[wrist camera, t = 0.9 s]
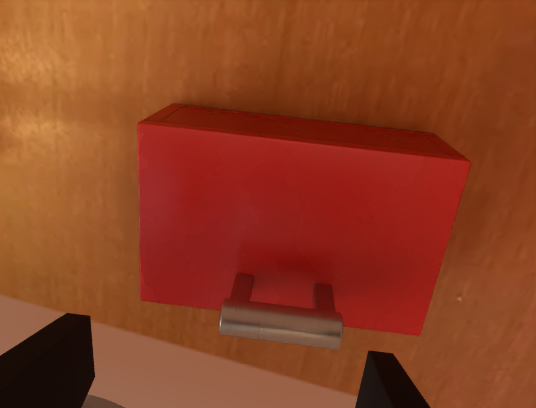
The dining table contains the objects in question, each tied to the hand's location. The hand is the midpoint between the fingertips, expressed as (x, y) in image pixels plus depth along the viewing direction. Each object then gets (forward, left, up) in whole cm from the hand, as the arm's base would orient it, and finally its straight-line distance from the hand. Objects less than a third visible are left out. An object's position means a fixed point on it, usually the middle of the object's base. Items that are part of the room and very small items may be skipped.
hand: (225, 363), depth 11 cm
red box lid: (+1, -1, -6) cm, 6 cm away
